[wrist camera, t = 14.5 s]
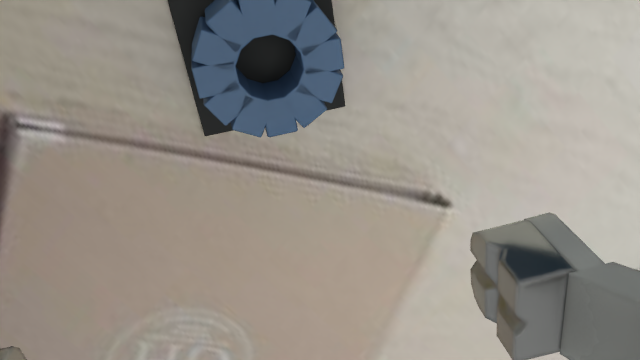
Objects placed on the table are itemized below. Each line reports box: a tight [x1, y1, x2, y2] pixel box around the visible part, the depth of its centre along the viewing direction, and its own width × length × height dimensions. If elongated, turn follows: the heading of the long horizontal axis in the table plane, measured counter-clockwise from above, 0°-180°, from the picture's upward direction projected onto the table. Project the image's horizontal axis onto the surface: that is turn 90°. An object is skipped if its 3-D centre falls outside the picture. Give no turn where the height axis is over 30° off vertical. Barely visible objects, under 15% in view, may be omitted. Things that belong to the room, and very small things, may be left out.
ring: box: [191, 0, 344, 137], centre depth 26 cm, size 6×6×2 cm
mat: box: [168, 0, 345, 136], centre depth 27 cm, size 7×7×1 cm
